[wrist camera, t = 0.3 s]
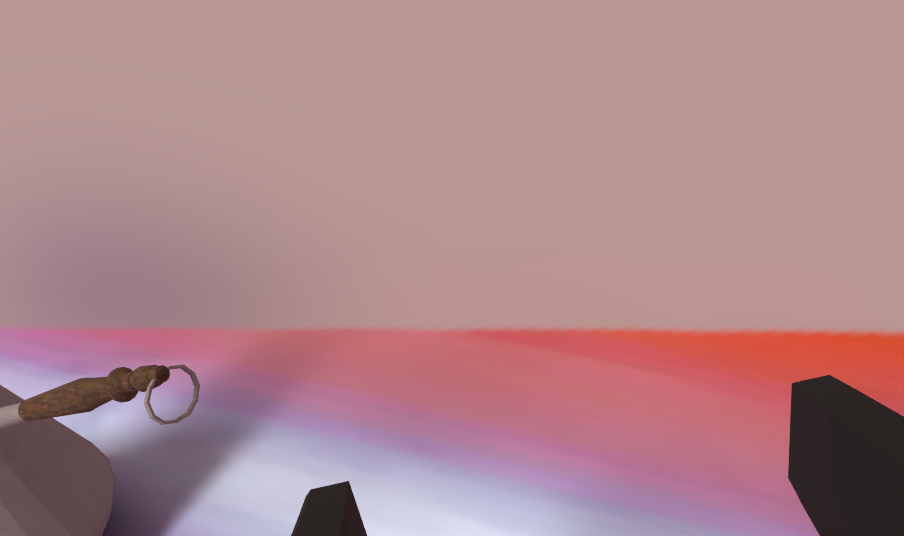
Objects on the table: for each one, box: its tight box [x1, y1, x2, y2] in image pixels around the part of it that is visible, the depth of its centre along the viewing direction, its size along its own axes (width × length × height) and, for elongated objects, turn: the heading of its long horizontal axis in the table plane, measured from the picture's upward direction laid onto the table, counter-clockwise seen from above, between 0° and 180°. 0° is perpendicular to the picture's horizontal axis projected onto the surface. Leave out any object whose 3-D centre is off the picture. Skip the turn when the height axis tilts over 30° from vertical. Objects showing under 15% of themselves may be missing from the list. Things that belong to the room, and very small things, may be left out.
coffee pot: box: [0, 365, 200, 536], centre depth 33 cm, size 21×12×15 cm, turn 70°
